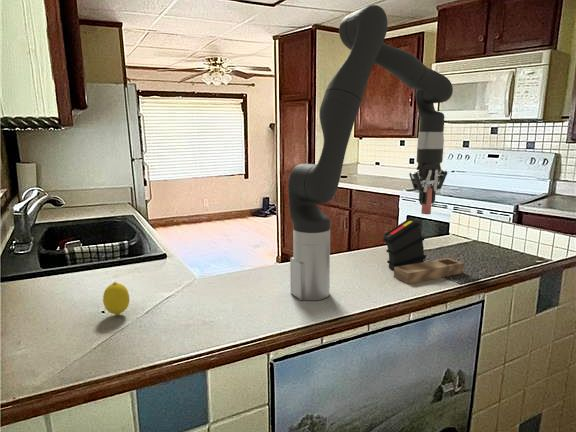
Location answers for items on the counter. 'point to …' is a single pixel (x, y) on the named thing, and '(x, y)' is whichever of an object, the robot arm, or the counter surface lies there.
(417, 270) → the joist
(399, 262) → the magazine
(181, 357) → the counter surface
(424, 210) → the pink cylinder
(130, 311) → the counter surface
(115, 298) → the lemon
